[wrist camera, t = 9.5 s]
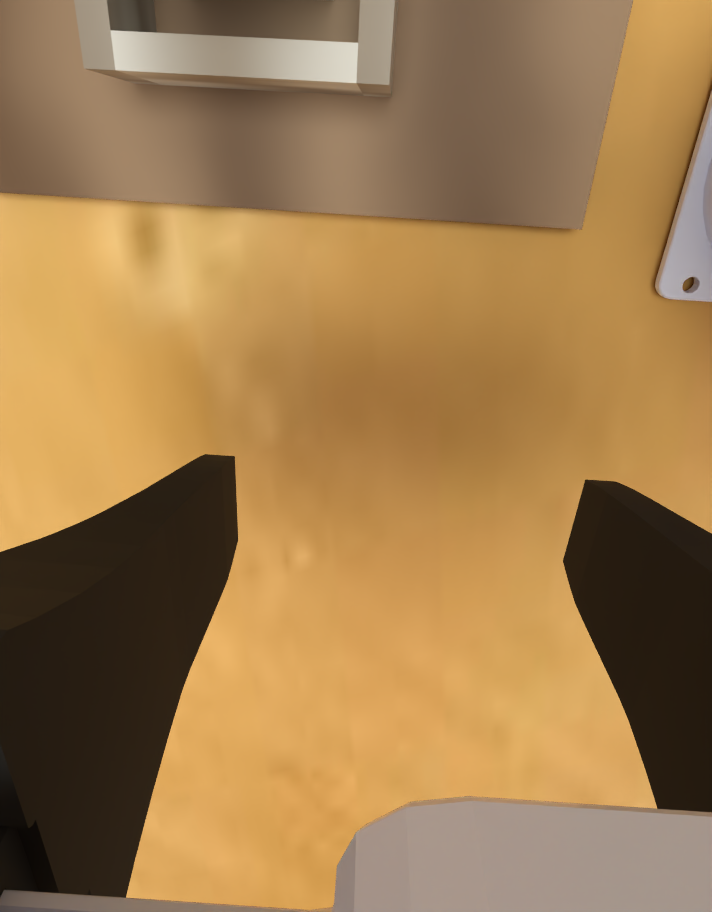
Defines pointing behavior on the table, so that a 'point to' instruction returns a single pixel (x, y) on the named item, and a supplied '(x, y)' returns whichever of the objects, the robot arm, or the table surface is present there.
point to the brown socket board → (313, 104)
